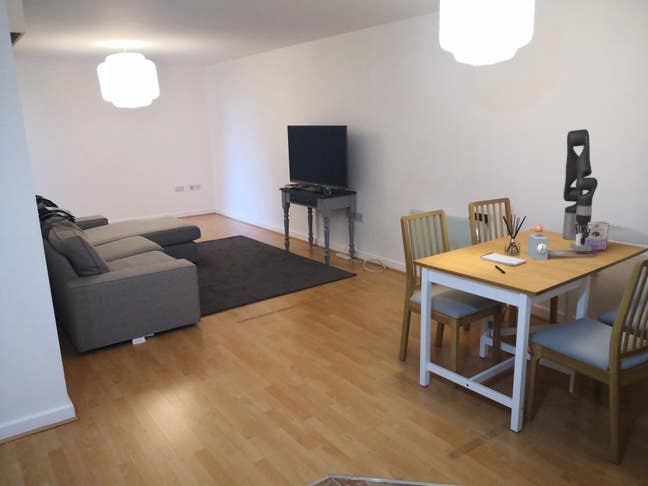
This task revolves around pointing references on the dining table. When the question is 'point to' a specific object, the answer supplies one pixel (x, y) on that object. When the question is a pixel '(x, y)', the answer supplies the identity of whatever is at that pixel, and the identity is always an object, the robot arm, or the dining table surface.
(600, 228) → the candy box
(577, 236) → the carriage
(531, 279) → the dining table surface
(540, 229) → the button
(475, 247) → the dining table surface
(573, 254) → the rail track
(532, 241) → the end cabinet
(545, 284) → the dining table surface
